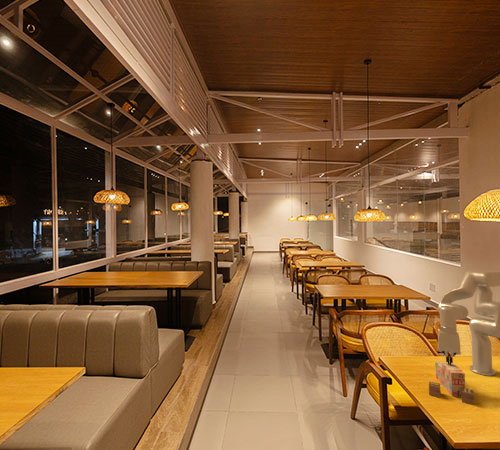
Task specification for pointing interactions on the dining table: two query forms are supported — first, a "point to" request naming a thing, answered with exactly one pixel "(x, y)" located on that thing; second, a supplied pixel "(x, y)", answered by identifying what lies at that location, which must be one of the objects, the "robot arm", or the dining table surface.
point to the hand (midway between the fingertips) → (449, 363)
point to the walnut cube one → (434, 389)
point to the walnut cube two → (467, 396)
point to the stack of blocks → (450, 377)
